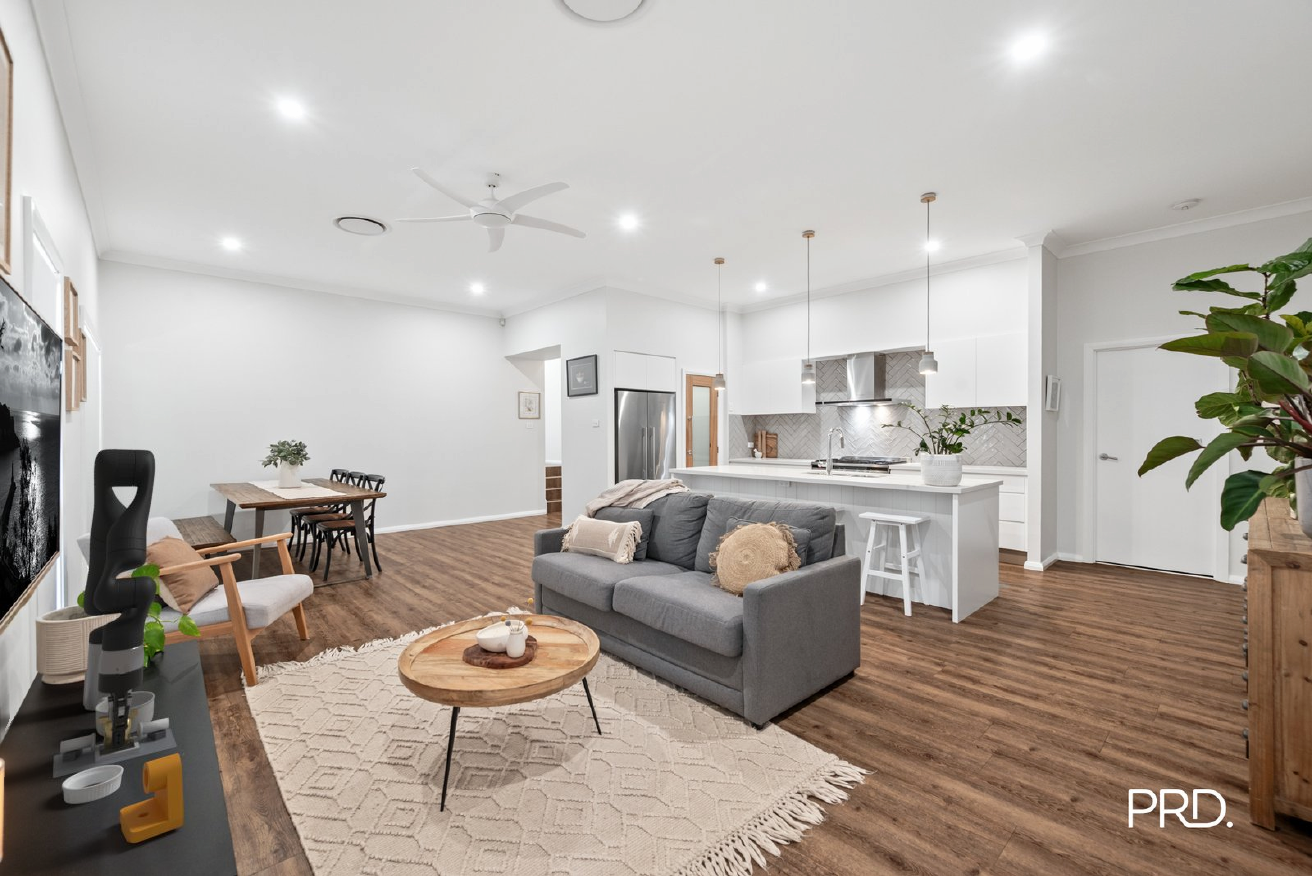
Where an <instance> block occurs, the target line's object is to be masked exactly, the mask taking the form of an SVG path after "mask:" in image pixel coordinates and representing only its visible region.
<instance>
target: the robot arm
mask: <svg viewBox="0 0 1312 876" xmlns="http://www.w3.org/2000/svg"><path fill="white" fill-rule="evenodd" d="M93 465H94V466H93V513H92V519H91V526H90V533H89V534H90V535H89V556H88V557H89V561H88V563H89V564H88V572H87V576H86V581H85V582H86V584H85V588H84V594H83V603H82V604H83V605H82V606H83V610H84V612H85V615H87V616H89V617H101V616H108V615H117V614H120V615H119V616H118V617H116V618H115V619H114V620H111V621H109V622H107V623H105V624H104V625H101V626H98V627H96V628H94V629H93V630H91V631H90V632H89V635H88V647H87V648H88V649H87V650H88V652H87V667H86V669H85V670H84V681H83V682H84V685H83V686H84V687H83V701H82V705H83V706H84V709H85V710H87V711H95V707H96V706H97V702H98V701H99V700H100V699H102V698H104V697H108V700H107V702H108V715H109V721H111V722H112V729H111V731H112V741H111V748H112V749H116V748H120V747H123V746H124V745H125V731H126V729H127V728H128V718H129V717H130V704H131V703H132V696H131V692H133V691H132V690H133V689H137V688H139V687H140V686H141V685H142V683H143V681H144V680H143V678H144V661H145V649H144V635H145V624H146V620H147V617H148V614H149V611H150V608H151V606H152V604H153V602H154V599H155V597H156V594H157V589H158V587H157V583H156V581H155V580H154V579H153V577H151V576H149V575H140V576H131V577H119V578H118V576H119V575H121V574H123V573H125V572H129V571H132V570H136V569H140V568H142V567H143V566H145V565H146V562H147V549H148V547H147V546H148V545H147V533H148V524H149V516H150V511H151V506H152V500H153V491H154V486H155V484H154V483H155V478H156V477H155V476H156V459H155V455H154V453H153V451H151V450H147V449H127V448H125V449H124V448H121V449H120V448H108V449H107V448H105V449H102V450H99V452H98V453H97V454H96V456H95V459H94V464H93ZM127 487H128V488H129V487H130V488H131V487H133V488H137V489H136V493H135V495H134V498H133V499H132V501H131V503H130V504H129V505H128V506H127V507H126V506H125V505H124V503H122V502H121V501H120V499H119V498H118V496H117V495H116V494H115V491H114V490H113V488H127ZM119 722H124V724H122V725H118V726H116V724H117V723H119Z"/></svg>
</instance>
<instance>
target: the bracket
mask: <svg viewBox="0 0 1312 876" xmlns="http://www.w3.org/2000/svg"><path fill="white" fill-rule="evenodd" d="M182 766H183V765H182V760H181V755H180V754H179V753H178V752H177V753H173V754H171V755H166V756H163V757H159V758H157V759H153V760H150V761H147V762H144V764H143V767H142V768H143V769H142V786H143V791H144V793H145V794H146V795H147V794H150V793H154V797H152V798H149V799H146V800H143V801H139V802H136V803H134V804H131V805H127V806H125V807H123V808H121V809H120V810H119V823H120V825H121V827H120V830H121V832H122V833H123V836H124V838H125V839H126V842H127V843H131V844H136V843H139V842H140V843H141V842H142V841H145V840H149V839H151V838H153V837H156V836H158V835H161V834H163V833H166V832H169V831H172V830H175V829H177V828H180V827H182V826H184V816H185V814H184V811H185V810H184V792H183V791H184V789H183V768H182Z"/></svg>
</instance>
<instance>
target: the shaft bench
mask: <svg viewBox="0 0 1312 876" xmlns="http://www.w3.org/2000/svg"><path fill="white" fill-rule="evenodd" d="M169 719H170V718H169V717H164V718H162V719H160V718H159V719H156V720H153V721H152V720H151V722H147V723H143V724H142V722H141V723H138V726H137V731H136V733H137V734H136V735H134V736H130V743H129V744H127V745H125V746H123V747H120V748H116V749H104V743H101V744H97V745H96V736H97V735H96V732H93V733H91V734H90V735H86V736H85V735H84V736H80V737H76V738H71V739H67V740H64V741H63V740H61V741H60V746H59V747H60V749H59V750H60V751H59V754H55V755H53V767H52V776H53V777H52V778H53V779H55V778H61V777H64V776H67V775H71V774H75V773H76V774H77V773H80V772H82V771H85V770H88V769H91V768H95V767H100V766H106V765H113V764H115V763H119V762H123V761H126V760H131V759H134V758H139V757H144V756H147V755H152V754H154V753H159V752H161V751H166V750H171V749H174V748H177V747H178V745H177V743H176V740H175V738H174V734H173V732H172V728H169V727H170V720H169Z"/></svg>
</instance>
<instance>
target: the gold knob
mask: <svg viewBox="0 0 1312 876" xmlns="http://www.w3.org/2000/svg"><path fill="white" fill-rule="evenodd" d="M135 716H138V709H135V710H130V717H129V718H128V728H127V729H126V731H125V745H127V744H129V743H130V737H131V736H132V735H131V734H132V733H131V717H135ZM103 723H105V735H104V736H103V737H104V739H103V744H104V749H112V748H111V741H112V731H111V729H112V722H111V721H109V715H107V716H102V717H99V724H103ZM122 724H124V722H119V723H117V724H116V726H118V725H122ZM125 745H124V746H125Z"/></svg>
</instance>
